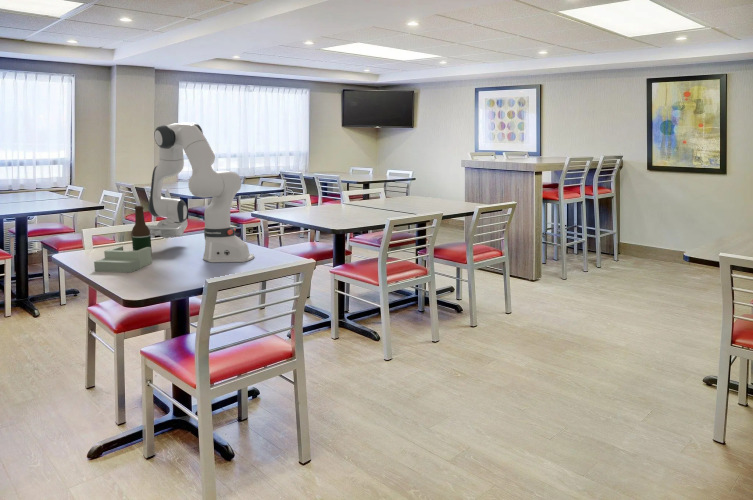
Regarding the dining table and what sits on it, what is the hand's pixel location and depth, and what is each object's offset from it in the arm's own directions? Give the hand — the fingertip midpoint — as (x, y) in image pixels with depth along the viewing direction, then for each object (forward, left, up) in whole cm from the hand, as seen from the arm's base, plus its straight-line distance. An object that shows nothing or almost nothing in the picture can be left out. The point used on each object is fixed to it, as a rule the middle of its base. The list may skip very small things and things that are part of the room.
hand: (152, 233), depth 277 cm
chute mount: (0, +26, -10) cm, 27 cm away
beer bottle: (0, +11, -10) cm, 15 cm away
